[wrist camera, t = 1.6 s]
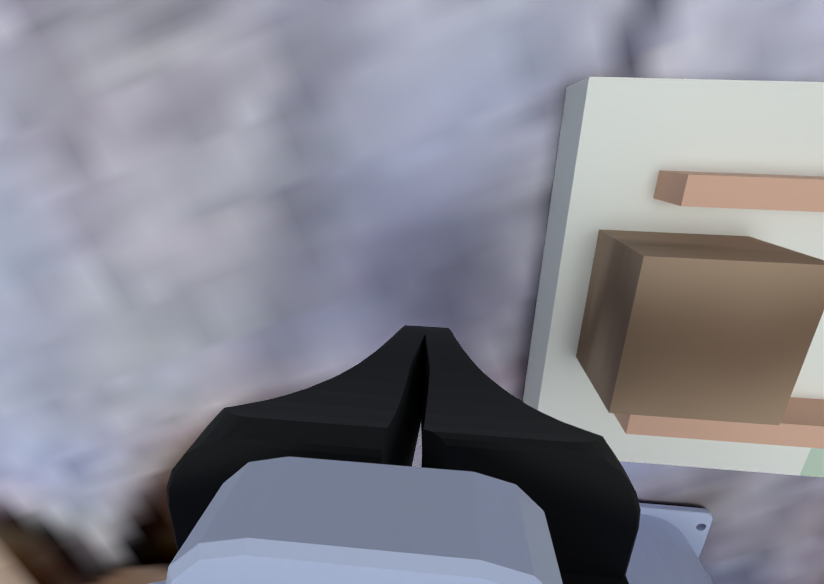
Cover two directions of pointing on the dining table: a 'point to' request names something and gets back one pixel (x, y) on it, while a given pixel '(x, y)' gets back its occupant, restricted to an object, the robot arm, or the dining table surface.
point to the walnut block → (698, 324)
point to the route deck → (680, 213)
